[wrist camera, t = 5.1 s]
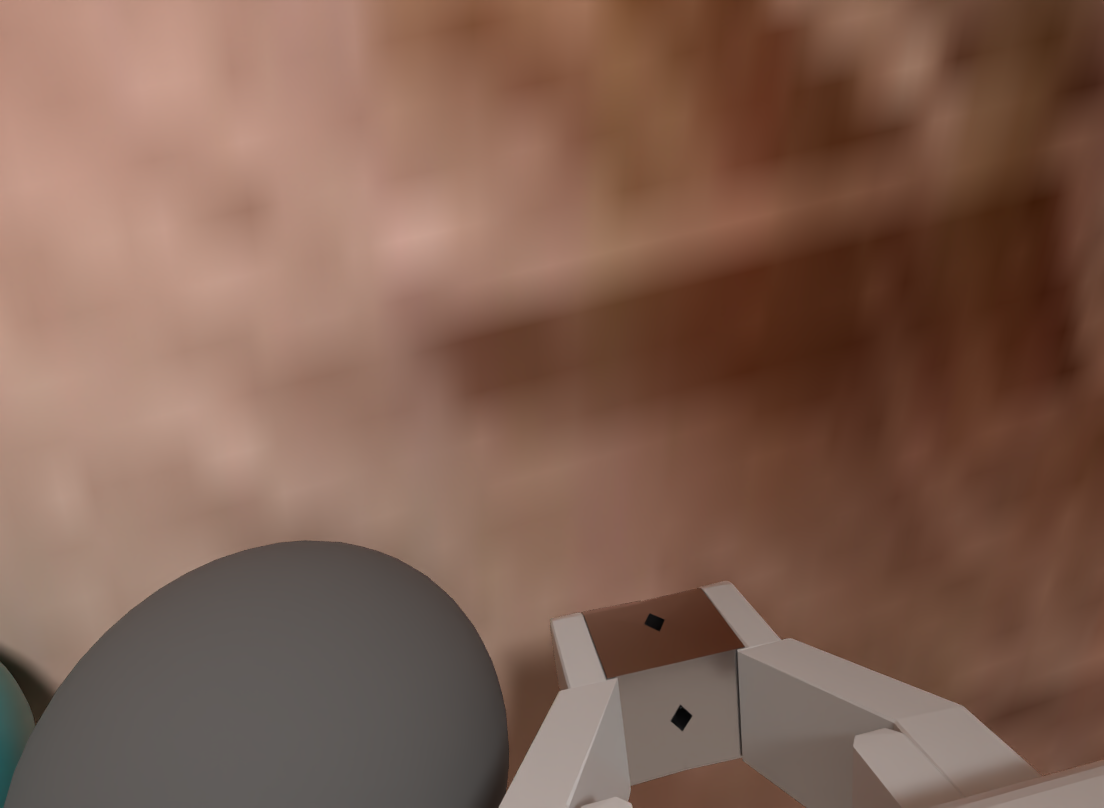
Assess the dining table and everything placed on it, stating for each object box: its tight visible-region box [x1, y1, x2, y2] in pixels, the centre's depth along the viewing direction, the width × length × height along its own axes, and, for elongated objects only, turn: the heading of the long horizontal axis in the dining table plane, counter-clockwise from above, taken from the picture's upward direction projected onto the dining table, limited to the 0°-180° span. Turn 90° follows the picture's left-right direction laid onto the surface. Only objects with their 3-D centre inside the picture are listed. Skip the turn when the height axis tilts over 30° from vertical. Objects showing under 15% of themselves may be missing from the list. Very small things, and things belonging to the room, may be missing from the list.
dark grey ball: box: [3, 541, 509, 808], centre depth 8 cm, size 6×6×6 cm
